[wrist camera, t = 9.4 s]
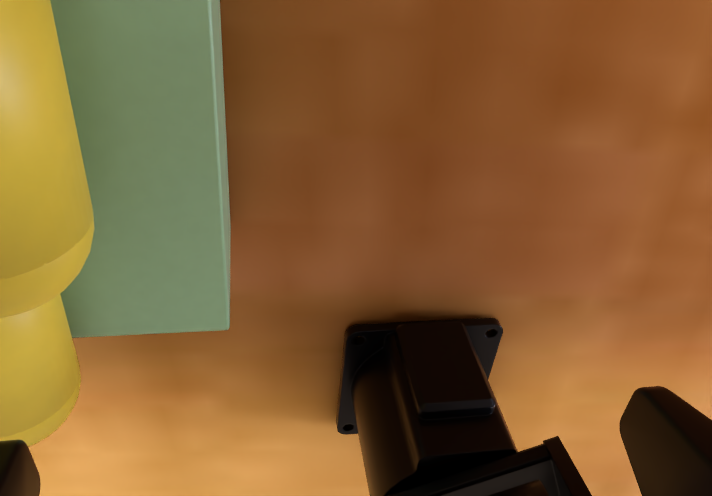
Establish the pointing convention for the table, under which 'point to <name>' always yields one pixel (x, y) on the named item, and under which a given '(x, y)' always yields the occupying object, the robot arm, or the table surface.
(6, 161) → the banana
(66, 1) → the green block
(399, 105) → the table surface
